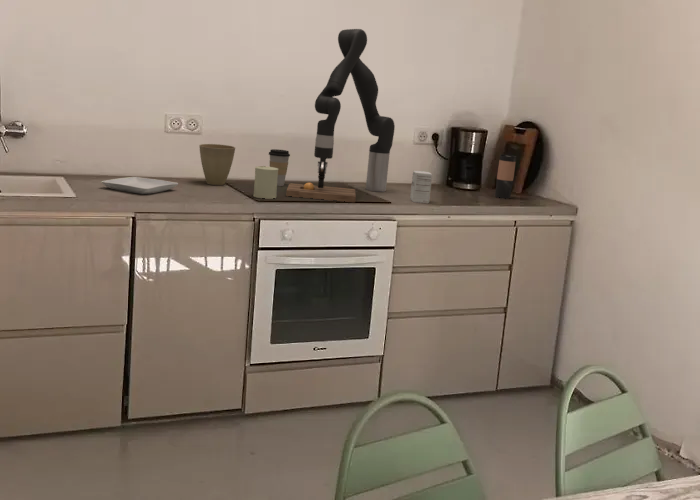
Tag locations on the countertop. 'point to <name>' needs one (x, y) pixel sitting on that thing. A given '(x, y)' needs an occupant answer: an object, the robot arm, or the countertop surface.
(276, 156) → the coffee cup
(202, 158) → the plant pot
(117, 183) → the salad plate
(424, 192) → the supplement box
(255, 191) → the can
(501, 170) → the travel mug
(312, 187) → the ball
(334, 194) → the wooden cutting board
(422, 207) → the countertop surface
